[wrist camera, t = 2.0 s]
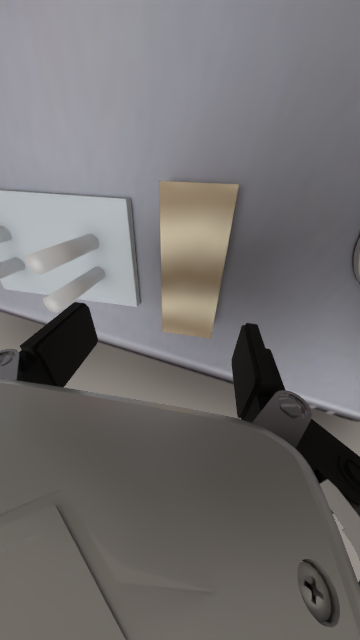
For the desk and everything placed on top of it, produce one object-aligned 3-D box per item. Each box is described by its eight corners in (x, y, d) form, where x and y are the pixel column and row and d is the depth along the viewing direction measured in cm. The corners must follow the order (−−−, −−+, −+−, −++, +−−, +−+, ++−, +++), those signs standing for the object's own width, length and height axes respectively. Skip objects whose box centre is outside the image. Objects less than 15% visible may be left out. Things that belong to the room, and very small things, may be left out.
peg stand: (130, 198, 18) (73, 203, 11) (140, 302, 25) (108, 347, 18) (-40, 187, 21) (-181, 185, 13) (12, 285, 28) (-62, 319, 20)
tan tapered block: (170, 182, 17) (159, 180, 14) (234, 185, 17) (238, 184, 13) (169, 314, 26) (162, 331, 23) (211, 319, 25) (210, 338, 22)
